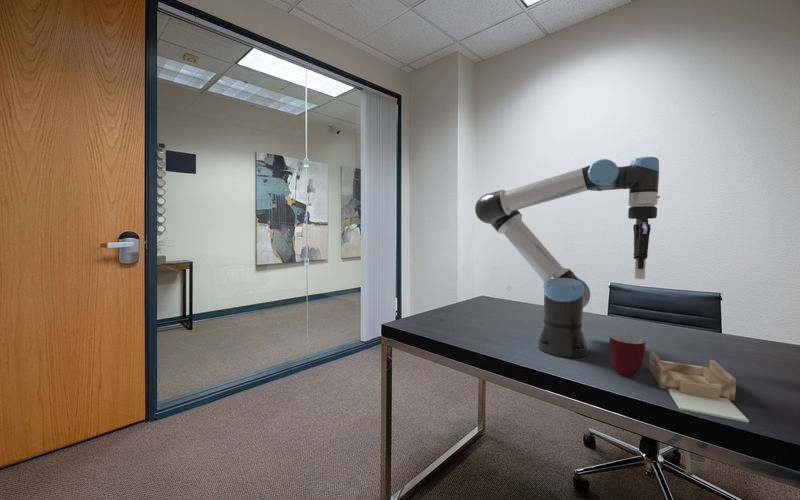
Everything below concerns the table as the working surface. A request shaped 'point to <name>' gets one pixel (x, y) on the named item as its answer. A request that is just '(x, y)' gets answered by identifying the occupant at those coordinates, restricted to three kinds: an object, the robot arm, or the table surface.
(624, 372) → the mug
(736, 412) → the lid
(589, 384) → the table surface
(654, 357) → the birch box
